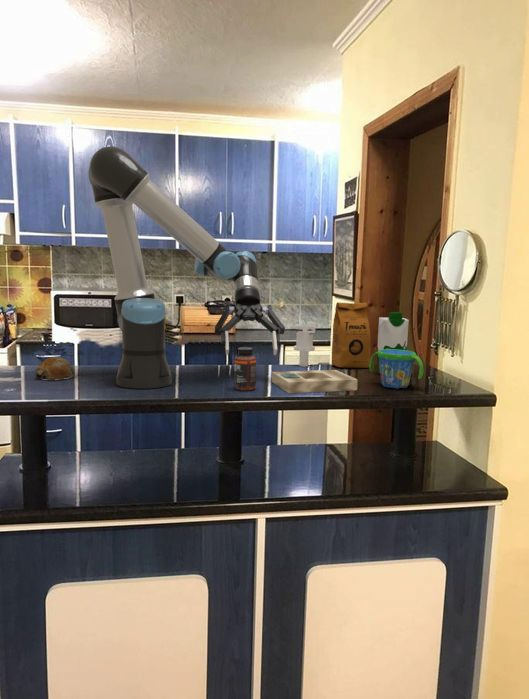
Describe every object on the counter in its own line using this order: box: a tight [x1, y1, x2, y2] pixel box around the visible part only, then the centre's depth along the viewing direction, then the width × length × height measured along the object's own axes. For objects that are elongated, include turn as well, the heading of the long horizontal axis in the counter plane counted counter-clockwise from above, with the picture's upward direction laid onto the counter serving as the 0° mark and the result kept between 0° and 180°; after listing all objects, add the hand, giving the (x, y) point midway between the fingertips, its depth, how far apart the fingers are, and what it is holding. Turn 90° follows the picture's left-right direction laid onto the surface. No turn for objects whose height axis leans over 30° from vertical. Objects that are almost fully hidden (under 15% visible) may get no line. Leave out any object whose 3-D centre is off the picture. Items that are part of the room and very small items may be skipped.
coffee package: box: [331, 302, 372, 369], centre depth 193 cm, size 10×12×22 cm
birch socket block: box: [271, 369, 358, 394], centre depth 162 cm, size 20×15×3 cm
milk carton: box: [376, 311, 410, 375], centre depth 181 cm, size 9×9×20 cm
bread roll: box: [35, 356, 74, 380], centre depth 166 cm, size 10×10×8 cm
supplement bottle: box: [233, 346, 257, 392], centre depth 156 cm, size 6×6×11 cm
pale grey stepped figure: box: [293, 321, 317, 368], centre depth 194 cm, size 7×7×15 cm
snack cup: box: [368, 349, 424, 390], centre depth 163 cm, size 16×10×10 cm
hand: (251, 352), depth 161 cm, fingers open, 13 cm apart
